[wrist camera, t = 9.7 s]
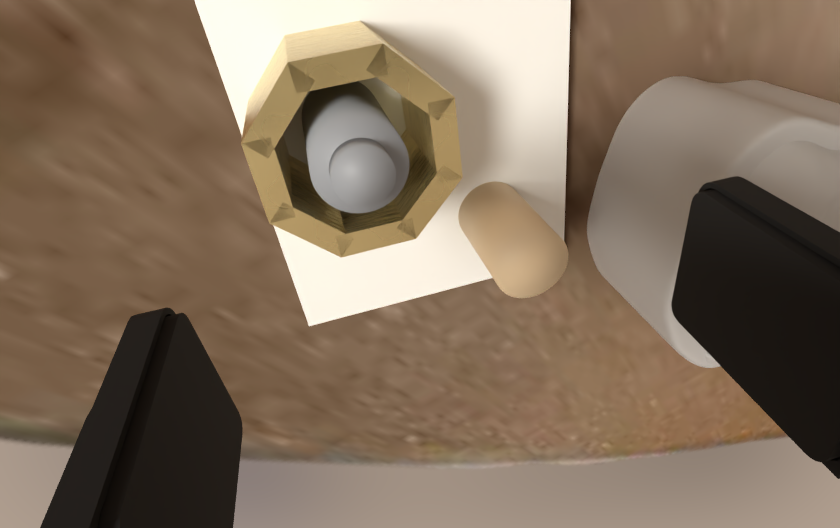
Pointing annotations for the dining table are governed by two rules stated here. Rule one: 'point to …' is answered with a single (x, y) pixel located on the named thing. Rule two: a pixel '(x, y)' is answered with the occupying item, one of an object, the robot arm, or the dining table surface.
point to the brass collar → (290, 178)
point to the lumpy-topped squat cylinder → (702, 179)
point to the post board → (488, 120)
